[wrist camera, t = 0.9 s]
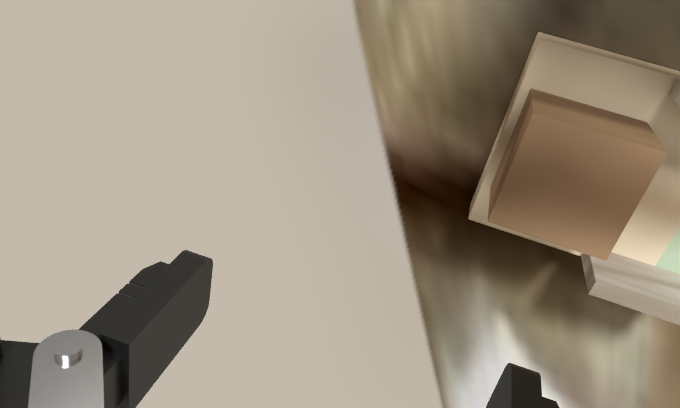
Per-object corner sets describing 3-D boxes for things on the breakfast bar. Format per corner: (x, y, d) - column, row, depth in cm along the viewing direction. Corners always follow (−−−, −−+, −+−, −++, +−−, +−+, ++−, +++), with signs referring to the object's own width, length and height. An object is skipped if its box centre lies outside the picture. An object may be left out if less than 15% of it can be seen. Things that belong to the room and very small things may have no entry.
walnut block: (530, 88, 26) (533, 112, 23) (646, 122, 26) (667, 152, 22) (490, 186, 29) (487, 221, 26) (594, 220, 28) (606, 260, 25)
